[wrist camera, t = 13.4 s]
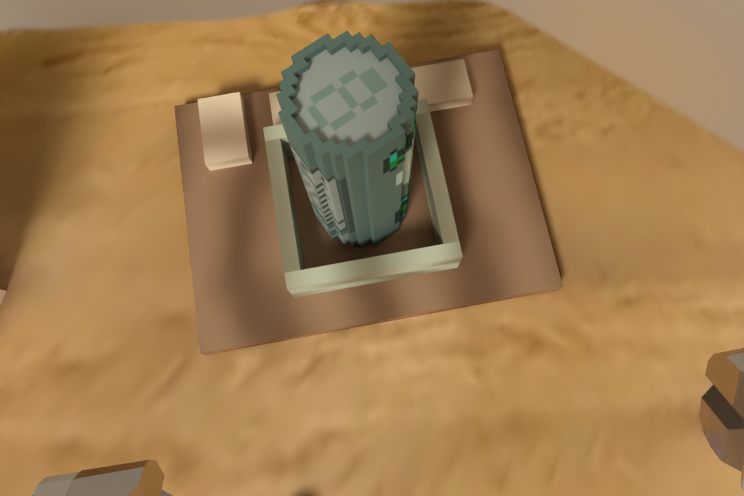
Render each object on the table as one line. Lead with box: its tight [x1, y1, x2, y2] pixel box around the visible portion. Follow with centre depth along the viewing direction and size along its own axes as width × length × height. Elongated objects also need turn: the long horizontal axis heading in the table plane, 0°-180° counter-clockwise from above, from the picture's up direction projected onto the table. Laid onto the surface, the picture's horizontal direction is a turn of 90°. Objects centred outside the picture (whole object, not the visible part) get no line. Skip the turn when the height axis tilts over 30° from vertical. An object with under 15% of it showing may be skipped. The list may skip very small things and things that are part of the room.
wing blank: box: [269, 59, 473, 125], centre depth 43 cm, size 14×3×1 cm, turn 100°
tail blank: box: [198, 92, 252, 171], centre depth 43 cm, size 5×3×1 cm, turn 10°
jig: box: [174, 49, 563, 355], centre depth 41 cm, size 24×18×4 cm
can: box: [276, 31, 419, 249], centre depth 34 cm, size 6×6×15 cm
